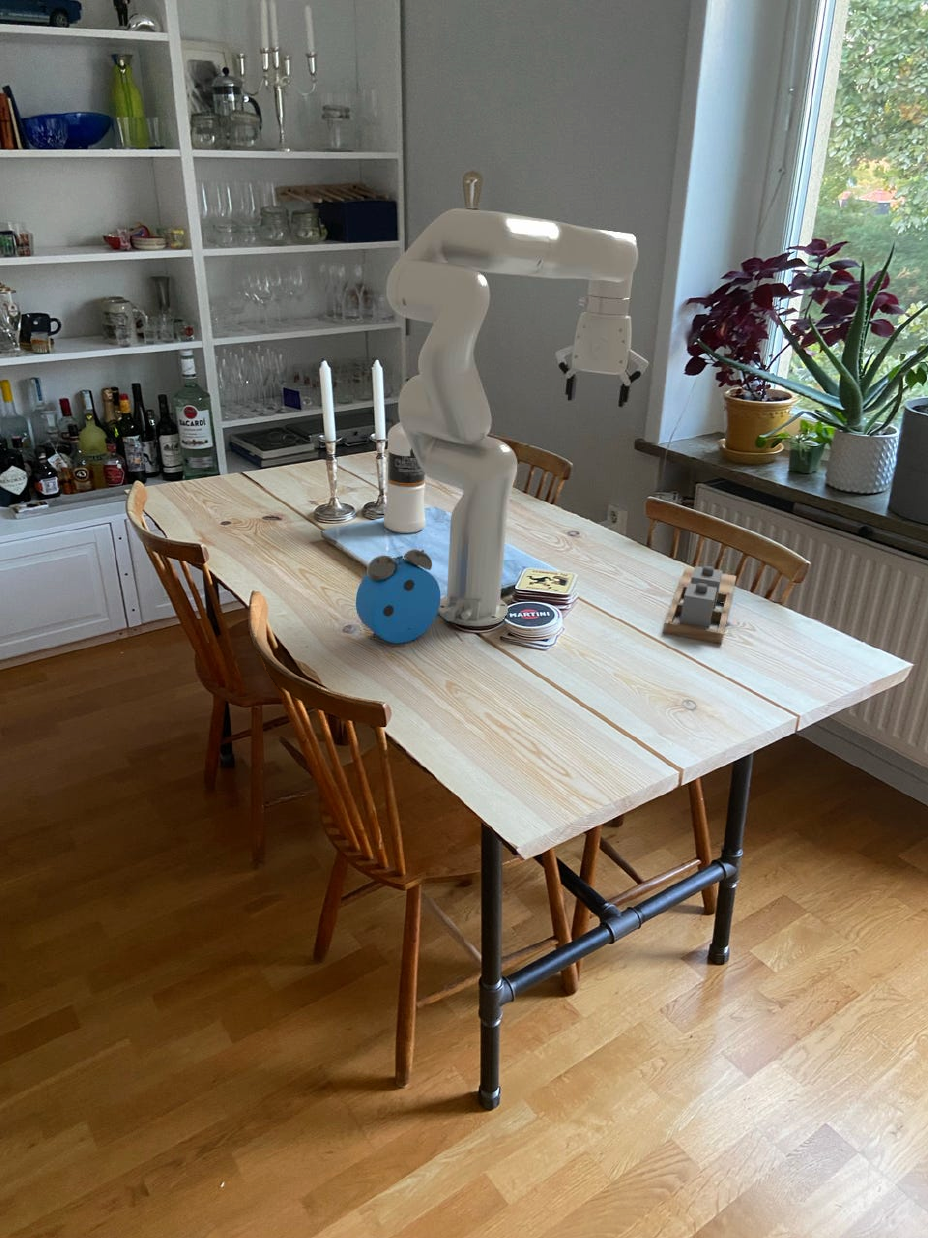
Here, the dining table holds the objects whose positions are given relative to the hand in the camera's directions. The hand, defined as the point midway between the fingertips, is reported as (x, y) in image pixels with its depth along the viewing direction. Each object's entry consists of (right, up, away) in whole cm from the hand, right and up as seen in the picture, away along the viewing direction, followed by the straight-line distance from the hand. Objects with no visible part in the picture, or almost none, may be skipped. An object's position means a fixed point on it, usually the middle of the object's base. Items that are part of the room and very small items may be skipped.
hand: (596, 402), depth 170 cm
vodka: (-38, -20, +30) cm, 52 cm away
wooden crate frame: (+20, -38, 0) cm, 43 cm away
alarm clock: (-36, -44, -19) cm, 60 cm away
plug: (+16, -42, -8) cm, 46 cm away
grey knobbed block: (+19, -39, -1) cm, 43 cm away
